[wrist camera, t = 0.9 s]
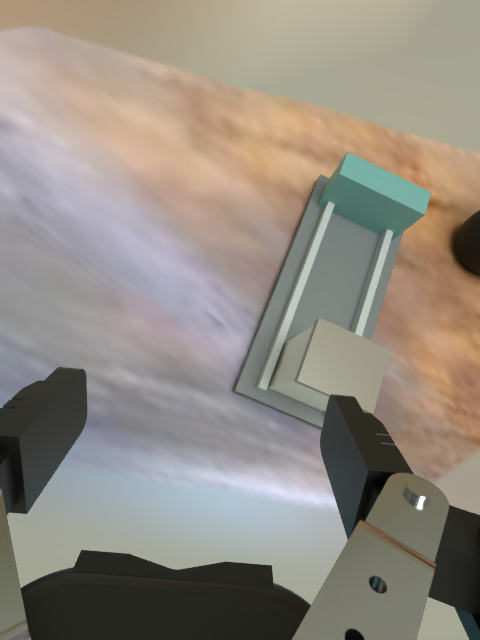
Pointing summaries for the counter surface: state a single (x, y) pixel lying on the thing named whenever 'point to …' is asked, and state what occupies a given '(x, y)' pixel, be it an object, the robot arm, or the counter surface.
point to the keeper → (330, 367)
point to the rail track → (333, 270)
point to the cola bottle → (470, 243)
